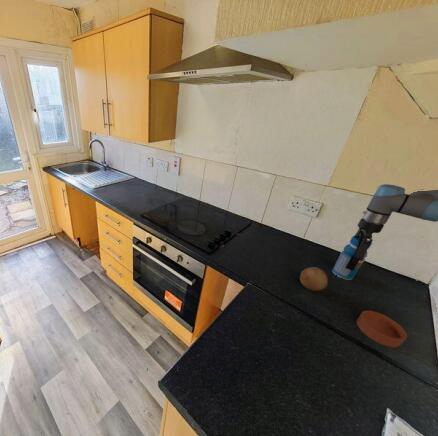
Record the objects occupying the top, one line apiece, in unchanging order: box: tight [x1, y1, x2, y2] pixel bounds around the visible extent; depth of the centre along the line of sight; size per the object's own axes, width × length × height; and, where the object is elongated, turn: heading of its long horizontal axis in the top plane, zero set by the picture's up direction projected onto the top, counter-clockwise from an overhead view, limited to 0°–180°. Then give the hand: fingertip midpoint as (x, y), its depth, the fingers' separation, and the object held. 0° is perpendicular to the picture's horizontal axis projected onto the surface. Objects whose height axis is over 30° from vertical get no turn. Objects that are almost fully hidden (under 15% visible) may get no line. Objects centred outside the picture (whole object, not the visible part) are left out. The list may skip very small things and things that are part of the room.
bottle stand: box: [356, 310, 408, 348], centre depth 79 cm, size 12×12×4 cm
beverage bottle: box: [331, 235, 373, 281], centre depth 103 cm, size 8×8×20 cm
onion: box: [299, 266, 329, 292], centre depth 96 cm, size 10×10×10 cm
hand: (348, 263), depth 105 cm, fingers open, 9 cm apart
